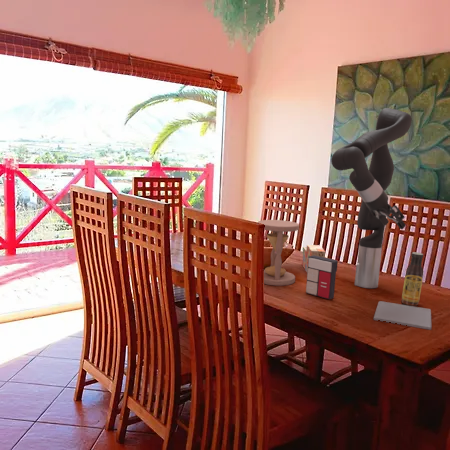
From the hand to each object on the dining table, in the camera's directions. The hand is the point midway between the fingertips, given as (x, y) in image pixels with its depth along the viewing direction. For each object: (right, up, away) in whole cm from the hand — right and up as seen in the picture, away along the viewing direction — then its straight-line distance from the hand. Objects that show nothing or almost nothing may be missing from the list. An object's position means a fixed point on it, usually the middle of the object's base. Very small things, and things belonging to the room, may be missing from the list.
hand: (394, 225), depth 167 cm
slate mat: (+2, -32, -4) cm, 32 cm away
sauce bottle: (+9, -30, +9) cm, 33 cm away
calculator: (-24, -28, +15) cm, 40 cm away
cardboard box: (-20, -22, +52) cm, 60 cm away
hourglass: (-40, -24, +34) cm, 57 cm away
